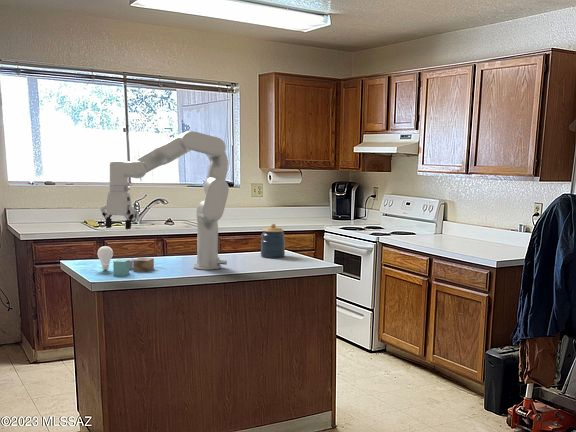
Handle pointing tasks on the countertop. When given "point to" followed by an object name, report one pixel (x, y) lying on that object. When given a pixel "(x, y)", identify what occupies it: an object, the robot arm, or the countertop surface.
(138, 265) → the walnut block
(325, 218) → the countertop surface
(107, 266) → the light bulb
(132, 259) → the grey cube
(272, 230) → the canister
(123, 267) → the teal cube
